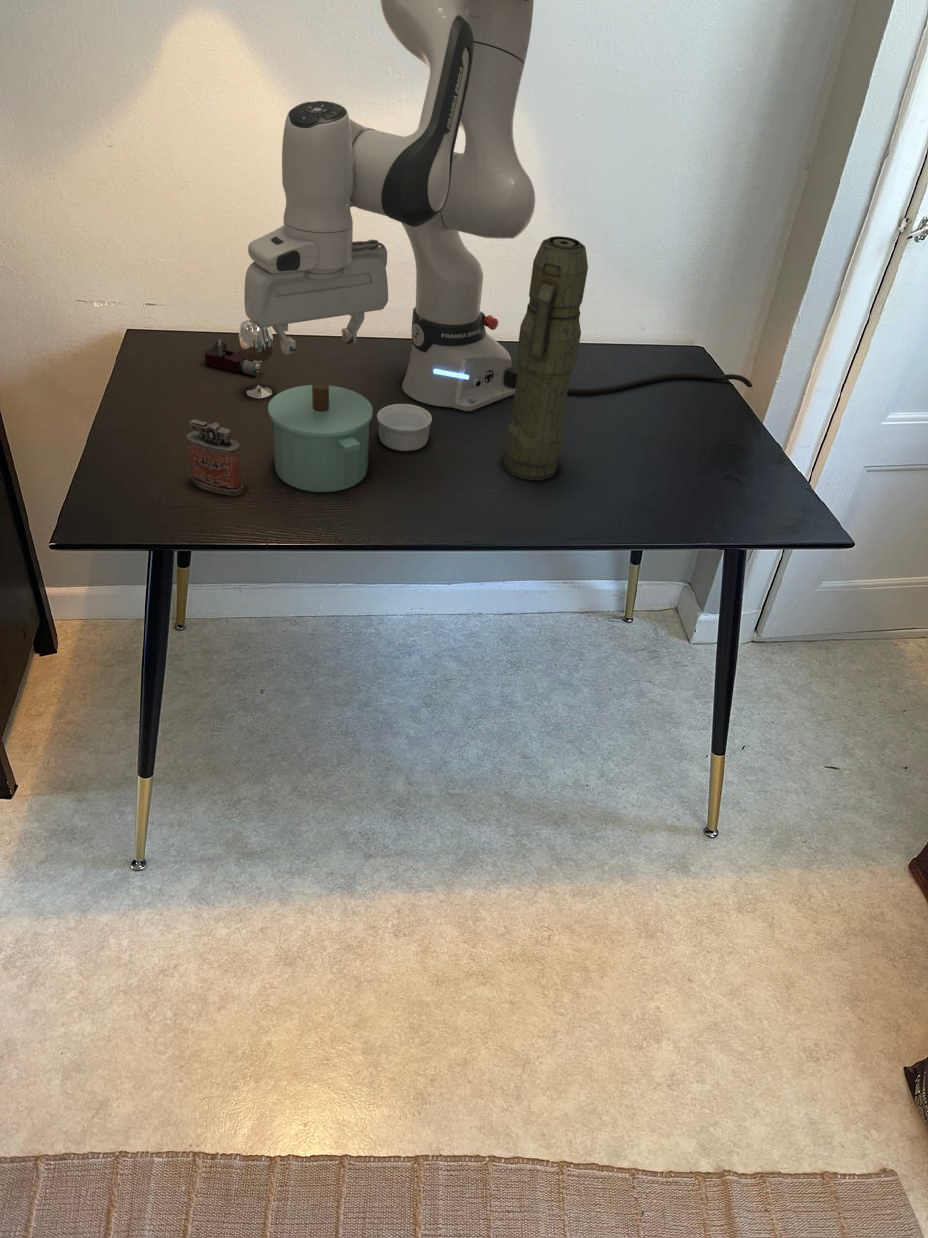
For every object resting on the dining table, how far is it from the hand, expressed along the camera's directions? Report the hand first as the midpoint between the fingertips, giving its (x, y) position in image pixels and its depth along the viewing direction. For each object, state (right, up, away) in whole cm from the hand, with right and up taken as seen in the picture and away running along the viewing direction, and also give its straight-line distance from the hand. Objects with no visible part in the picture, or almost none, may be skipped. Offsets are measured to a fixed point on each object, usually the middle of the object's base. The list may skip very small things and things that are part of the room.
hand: (319, 347), depth 126 cm
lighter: (-16, -19, +6) cm, 25 cm away
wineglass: (-15, +1, +30) cm, 34 cm away
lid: (-1, -8, +6) cm, 10 cm away
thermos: (+31, -14, +19) cm, 39 cm away
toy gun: (-20, +8, +38) cm, 44 cm away
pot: (-2, -15, +13) cm, 20 cm away
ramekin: (+10, -9, +22) cm, 26 cm away
